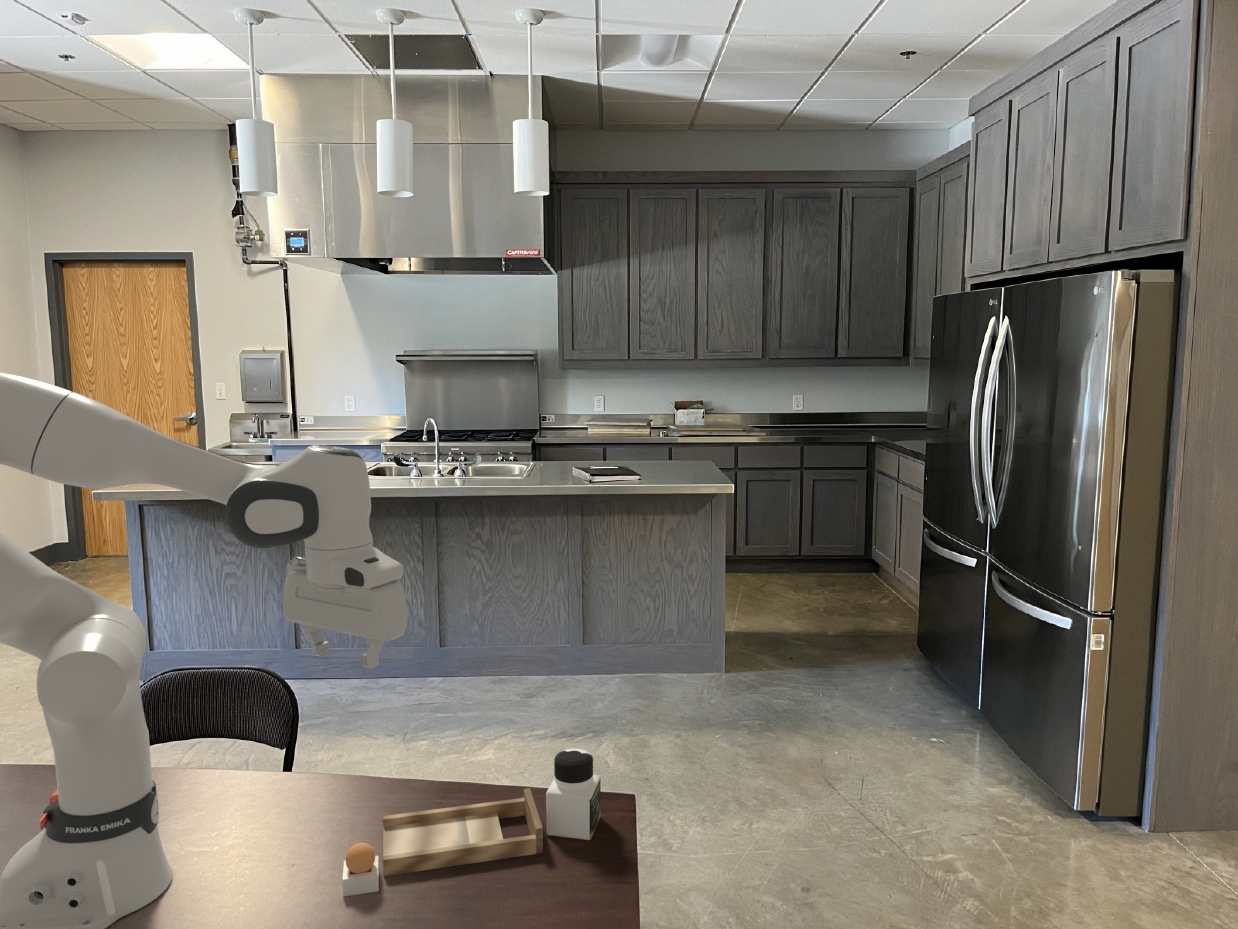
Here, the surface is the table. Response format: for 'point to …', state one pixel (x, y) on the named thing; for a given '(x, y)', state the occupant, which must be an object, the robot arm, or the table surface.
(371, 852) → the ball
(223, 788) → the table surface
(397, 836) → the lane
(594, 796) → the medicine bottle
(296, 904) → the table surface
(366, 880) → the square ring
